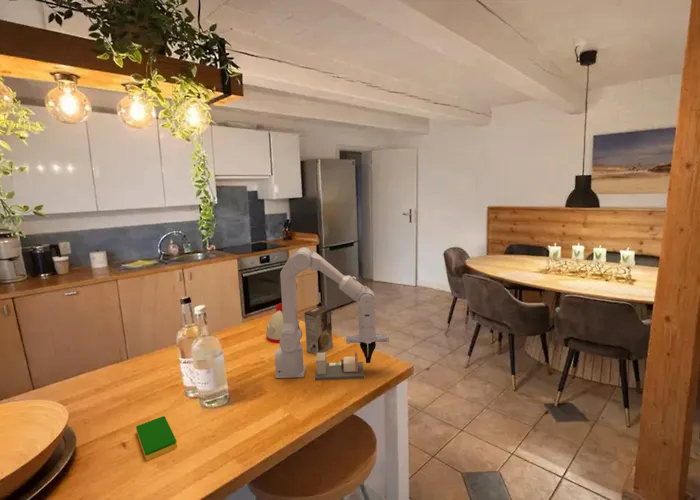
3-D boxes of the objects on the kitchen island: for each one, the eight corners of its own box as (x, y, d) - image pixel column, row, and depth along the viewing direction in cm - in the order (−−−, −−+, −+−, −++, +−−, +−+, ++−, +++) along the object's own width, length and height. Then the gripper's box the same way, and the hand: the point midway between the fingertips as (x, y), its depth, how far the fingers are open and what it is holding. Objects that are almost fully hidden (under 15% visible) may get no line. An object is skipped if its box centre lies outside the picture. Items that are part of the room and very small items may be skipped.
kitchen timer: (277, 346, 152) (274, 311, 149) (260, 336, 162) (257, 304, 159) (305, 336, 161) (303, 303, 158) (287, 327, 171) (285, 296, 169)
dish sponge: (165, 423, 105) (164, 415, 105) (177, 449, 94) (176, 440, 94) (136, 433, 101) (135, 425, 100) (146, 462, 90) (145, 453, 89)
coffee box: (321, 343, 153) (319, 305, 151) (333, 346, 150) (331, 308, 147) (306, 351, 146) (303, 312, 143) (318, 355, 142) (316, 315, 140)
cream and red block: (341, 372, 126) (340, 358, 125) (341, 362, 133) (341, 348, 132) (357, 372, 126) (357, 357, 125) (357, 361, 133) (356, 348, 133)
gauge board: (314, 380, 124) (314, 363, 123) (317, 365, 134) (316, 350, 133) (364, 378, 124) (363, 361, 123) (362, 364, 134) (362, 348, 133)
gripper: (345, 329, 122) (347, 368, 125) (389, 328, 122) (390, 366, 125) (345, 322, 129) (347, 358, 132) (387, 320, 129) (388, 356, 132)
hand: (368, 361), depth 129 cm, fingers closed
